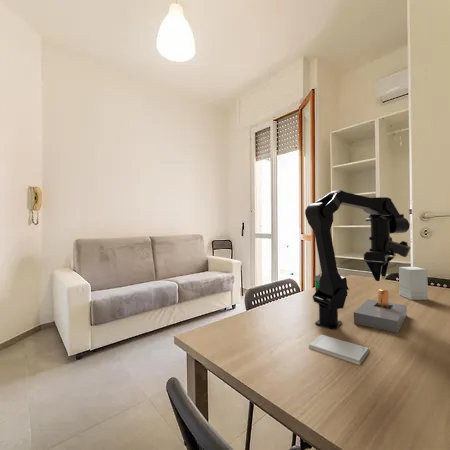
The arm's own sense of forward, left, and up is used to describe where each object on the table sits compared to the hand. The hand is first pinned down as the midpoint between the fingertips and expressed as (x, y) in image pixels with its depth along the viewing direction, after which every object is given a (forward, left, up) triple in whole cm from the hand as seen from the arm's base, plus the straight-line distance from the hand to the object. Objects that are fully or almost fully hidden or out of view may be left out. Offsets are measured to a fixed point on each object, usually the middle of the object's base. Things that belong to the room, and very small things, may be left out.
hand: (380, 278), depth 90 cm
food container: (+11, +23, -13) cm, 29 cm away
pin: (0, -1, -13) cm, 13 cm away
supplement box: (+32, -6, -13) cm, 35 cm away
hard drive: (-34, +3, -14) cm, 37 cm away
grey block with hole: (-4, -1, -13) cm, 14 cm away
